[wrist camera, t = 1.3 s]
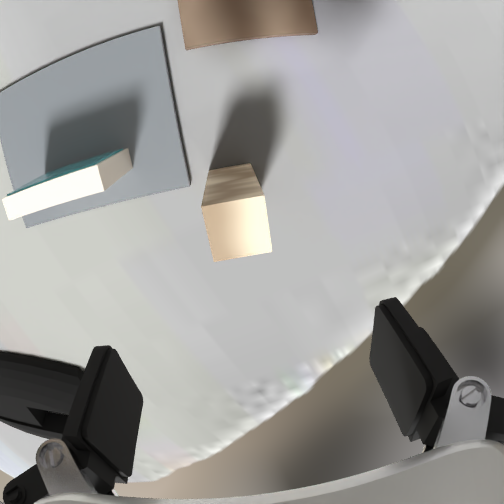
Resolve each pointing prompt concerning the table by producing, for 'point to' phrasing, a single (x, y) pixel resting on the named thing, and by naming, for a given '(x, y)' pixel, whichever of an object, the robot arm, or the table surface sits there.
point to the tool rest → (243, 20)
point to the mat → (96, 121)
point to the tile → (68, 183)
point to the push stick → (235, 213)
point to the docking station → (36, 393)
